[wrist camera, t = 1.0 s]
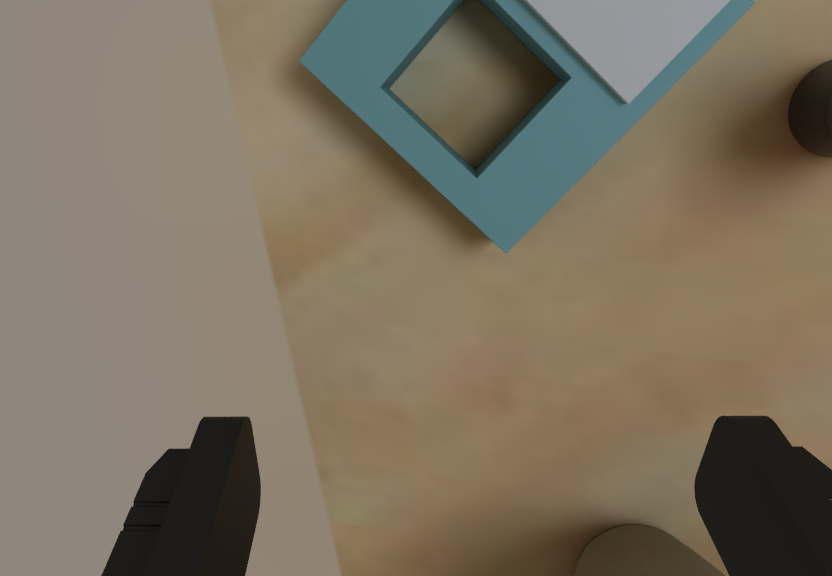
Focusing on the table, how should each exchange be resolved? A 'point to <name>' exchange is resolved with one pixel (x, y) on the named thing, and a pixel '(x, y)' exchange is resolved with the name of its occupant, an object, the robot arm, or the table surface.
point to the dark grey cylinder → (813, 111)
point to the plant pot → (641, 555)
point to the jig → (554, 114)
